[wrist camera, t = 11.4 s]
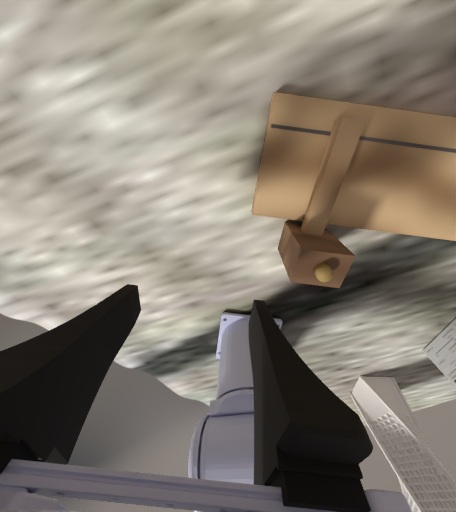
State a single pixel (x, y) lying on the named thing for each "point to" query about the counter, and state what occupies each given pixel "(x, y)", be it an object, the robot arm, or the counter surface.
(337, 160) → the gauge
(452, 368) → the light bulb box
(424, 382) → the counter surface
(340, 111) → the board
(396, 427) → the skyscraper
